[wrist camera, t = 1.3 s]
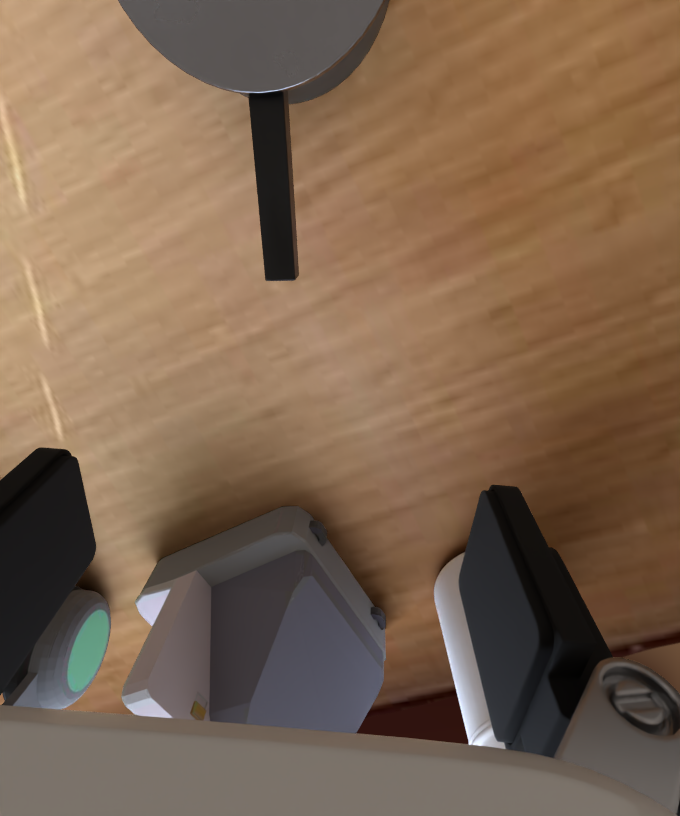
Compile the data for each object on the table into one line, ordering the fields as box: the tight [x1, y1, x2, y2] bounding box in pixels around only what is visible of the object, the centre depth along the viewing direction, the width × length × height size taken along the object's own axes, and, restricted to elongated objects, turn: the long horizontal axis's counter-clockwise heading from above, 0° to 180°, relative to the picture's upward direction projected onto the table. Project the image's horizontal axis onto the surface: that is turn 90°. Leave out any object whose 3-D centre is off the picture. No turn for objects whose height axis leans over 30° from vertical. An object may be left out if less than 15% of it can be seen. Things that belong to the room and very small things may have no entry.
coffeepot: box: [434, 552, 506, 749], centre depth 37 cm, size 11×25×19 cm, turn 4°
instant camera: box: [121, 506, 386, 734], centre depth 42 cm, size 21×21×15 cm
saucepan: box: [118, 0, 389, 281], centre depth 24 cm, size 14×23×9 cm, turn 1°
